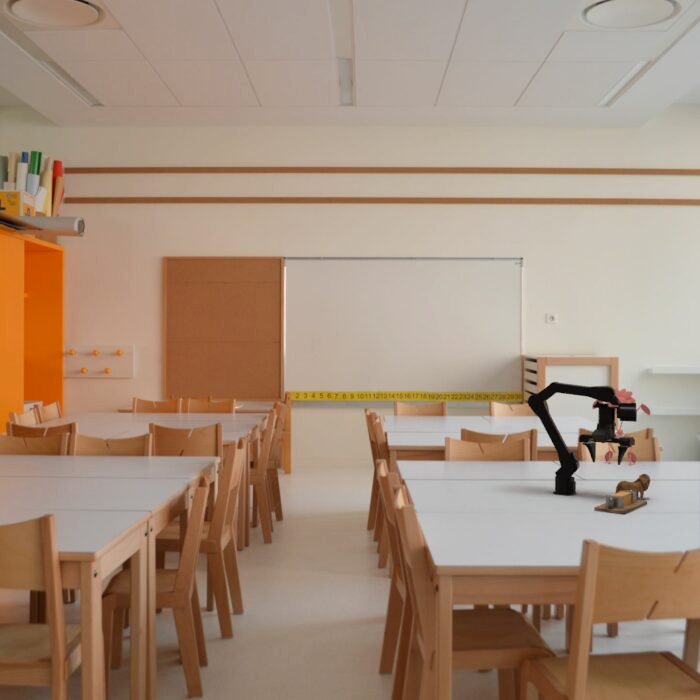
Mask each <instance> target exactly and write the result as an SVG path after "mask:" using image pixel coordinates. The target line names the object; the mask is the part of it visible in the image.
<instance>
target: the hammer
mask: <svg viewBox="0 0 700 700" xmlns="http://www.w3.org/2000/svg"><path fill="white" fill-rule="evenodd" d="M609 498H614V508H618V509H621V508H624V506H625V505H627V504H630V503H635V502H636V500H637V499H636V492H634V491H628V490H627V491H626V490H621V491H619V492H618V493H616V494H615V493H614V494H608V495H605V503H606V507H608V505H609Z"/></svg>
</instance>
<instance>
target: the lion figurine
mask: <svg viewBox="0 0 700 700" xmlns="http://www.w3.org/2000/svg"><path fill="white" fill-rule="evenodd" d="M638 476H639V477H637V479H636V480H634V481H629V480H621V481H619V482H618V483H617V485H616V488H615V492H614V494H616V493H618V492H619V491H621V490H626V491H629V490H634V492H636V500H640V501H646V500H645V498H644V493H645V492H646V491H647V490H648V489H649V487H650V483H651V477H650V475H648V474H647V473H642V474H640V475H638ZM639 494H640V495H639ZM639 496H640V497H639Z"/></svg>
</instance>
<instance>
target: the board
mask: <svg viewBox="0 0 700 700" xmlns="http://www.w3.org/2000/svg"><path fill="white" fill-rule="evenodd" d="M629 491H634V490H629ZM646 505H648V501H646V500H641V499H636V502H635V503H630V504H627V505H625V506H624V508H621V509H618V508H614V498H609V505H608V507H606V502H605V503H602V504H600V505H597V506H594V509H593V510H594V511H597V512H603V513H611V514H617V515H624V516H625V515H627V514H629V513H631V512H633V511H635V510H638V509H640V508H642V507H644V506H646Z"/></svg>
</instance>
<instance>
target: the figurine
mask: <svg viewBox="0 0 700 700" xmlns="http://www.w3.org/2000/svg"><path fill="white" fill-rule="evenodd" d="M614 390H615V392H616V397H617V398H618V399H619V400H620V402H621V403H636V399H635V398H634V397H633V396H632V395H633V391H629V390H627V388H622V389H621V390H619V389H618V388H614ZM597 401H599V400H596V399H595V401H594V402H593V403H592V410H595V409H596V408H593V406H594V405H595V404H596V403H597ZM599 402H600V403H604V402H602V401H599ZM606 403H607V404H609V406H615V407H618V405H612V404H611V403H609V402H606ZM640 409H641V410H642V411H643V412H644V413H645V414H647V416H650V415H651V410H650V408H649V407H648V406H647V405H646V404H644V403H641V404H640V405H639V406H638V408H636V411H637V412H638V411H639V410H640ZM615 415H617V409H615ZM623 422H624V421H620V426H619V428H618V429H617V431H616V432H615V434H616V435H619V436H620V435H625V437H631V436H630V435H628V434H626V433H624V432H623V431H624V430H623V429H621V428H622V426H623ZM607 446H608V451H607V452H606V453H605V455H604V461H605V462H606V463H608V465H610V464H611V460H612V458H613V457H614V456H613V455H614V454H613V452H614V451H612V450H611V448H610V443H609V442H607ZM632 447H633V446H631V447H630V451H628V452H627V458H628V463H629V464H628V465H629V466H631V464H632V463H633V464H636V462H637V460H638V459H637V455H636V454H635V453H634V452H633V451H632V449H633V448H632ZM600 461H603V459H601V460H600ZM600 461H599V462H600ZM615 461H617V462H618V459H615ZM643 466H645V465H644V464H643Z"/></svg>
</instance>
